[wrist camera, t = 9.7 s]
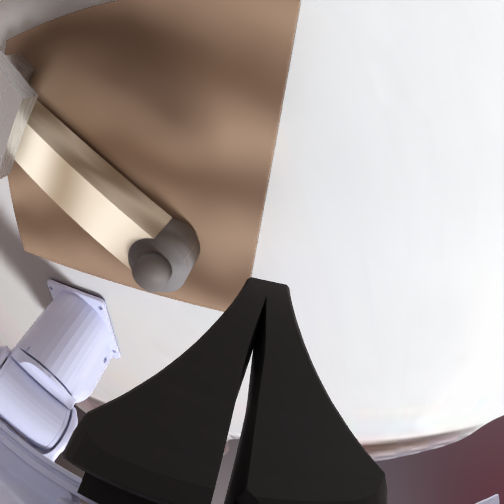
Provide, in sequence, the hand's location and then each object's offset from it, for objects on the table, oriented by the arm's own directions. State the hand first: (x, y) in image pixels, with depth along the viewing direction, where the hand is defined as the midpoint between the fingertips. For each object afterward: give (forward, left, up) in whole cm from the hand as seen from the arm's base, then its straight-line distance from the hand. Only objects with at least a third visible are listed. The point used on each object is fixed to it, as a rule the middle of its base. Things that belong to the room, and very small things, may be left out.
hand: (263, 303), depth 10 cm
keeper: (+7, +18, -7) cm, 21 cm away
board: (+2, +12, -8) cm, 15 cm away
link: (0, +11, -7) cm, 13 cm away
